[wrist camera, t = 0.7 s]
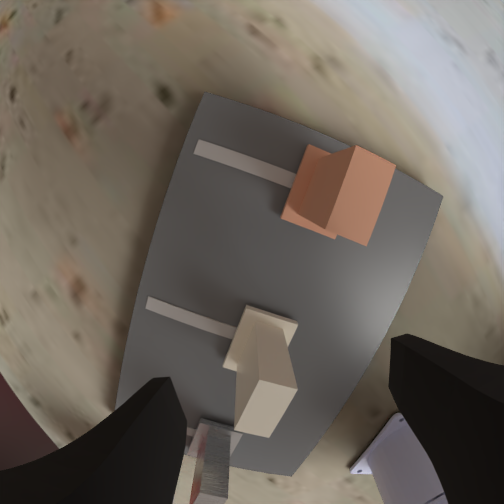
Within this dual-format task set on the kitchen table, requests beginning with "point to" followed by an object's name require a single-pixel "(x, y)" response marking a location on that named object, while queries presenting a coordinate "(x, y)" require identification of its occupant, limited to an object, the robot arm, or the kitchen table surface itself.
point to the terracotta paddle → (339, 192)
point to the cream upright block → (261, 370)
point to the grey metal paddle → (212, 461)
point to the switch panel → (265, 279)
